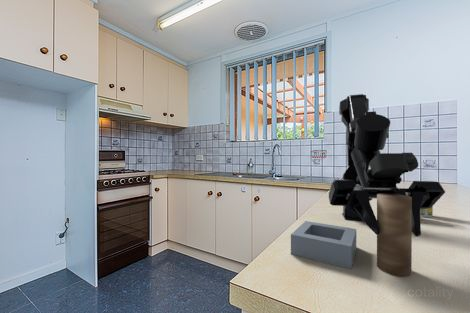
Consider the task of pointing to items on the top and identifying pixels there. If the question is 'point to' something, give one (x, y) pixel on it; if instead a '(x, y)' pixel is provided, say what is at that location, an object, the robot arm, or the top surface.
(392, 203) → the walnut cylinder
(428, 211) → the supplement bottle
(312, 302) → the top surface
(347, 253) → the well
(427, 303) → the top surface
